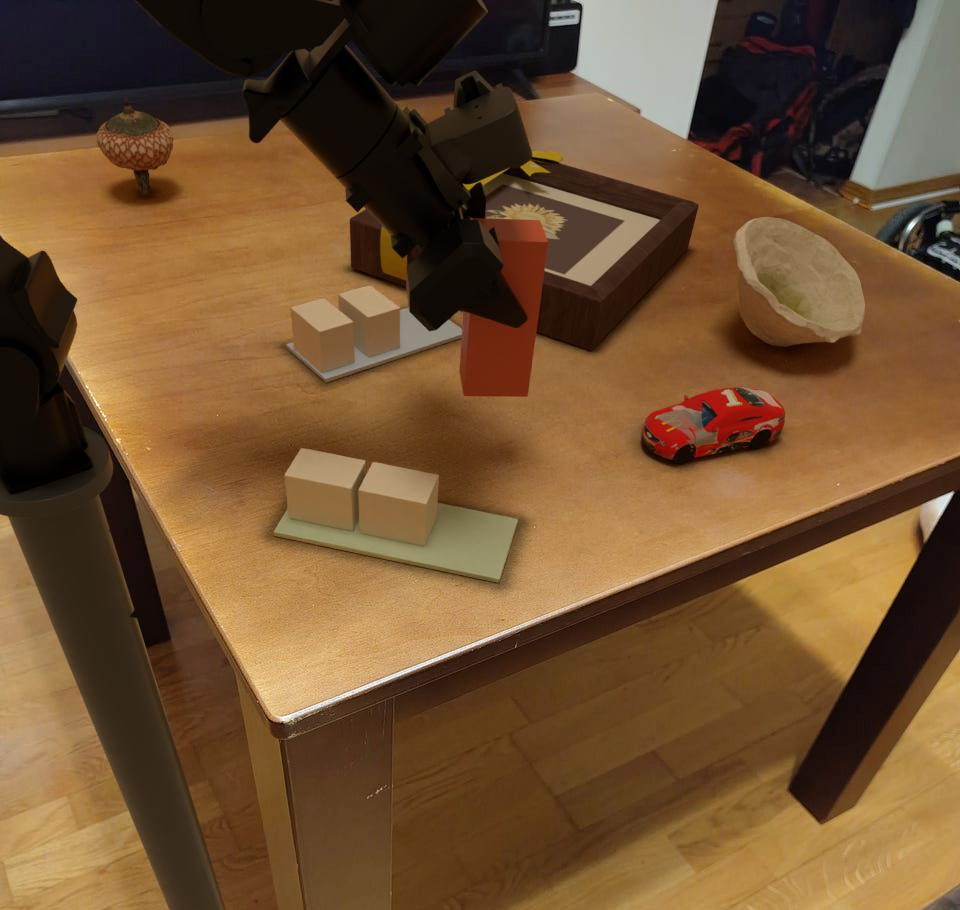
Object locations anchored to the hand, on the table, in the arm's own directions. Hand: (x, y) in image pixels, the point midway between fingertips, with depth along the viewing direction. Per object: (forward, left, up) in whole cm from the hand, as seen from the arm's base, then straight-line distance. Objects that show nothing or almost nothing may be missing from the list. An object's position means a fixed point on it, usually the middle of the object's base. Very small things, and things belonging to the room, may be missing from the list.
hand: (518, 310), depth 65 cm
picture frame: (+26, +27, -13) cm, 39 cm away
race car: (+17, -8, -13) cm, 22 cm away
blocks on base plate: (+1, +20, -12) cm, 24 cm away
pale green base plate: (-13, -3, -12) cm, 18 cm away
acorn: (-3, +62, -13) cm, 63 cm away
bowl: (+37, 0, -13) cm, 39 cm away
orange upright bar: (-1, +1, -6) cm, 6 cm away
